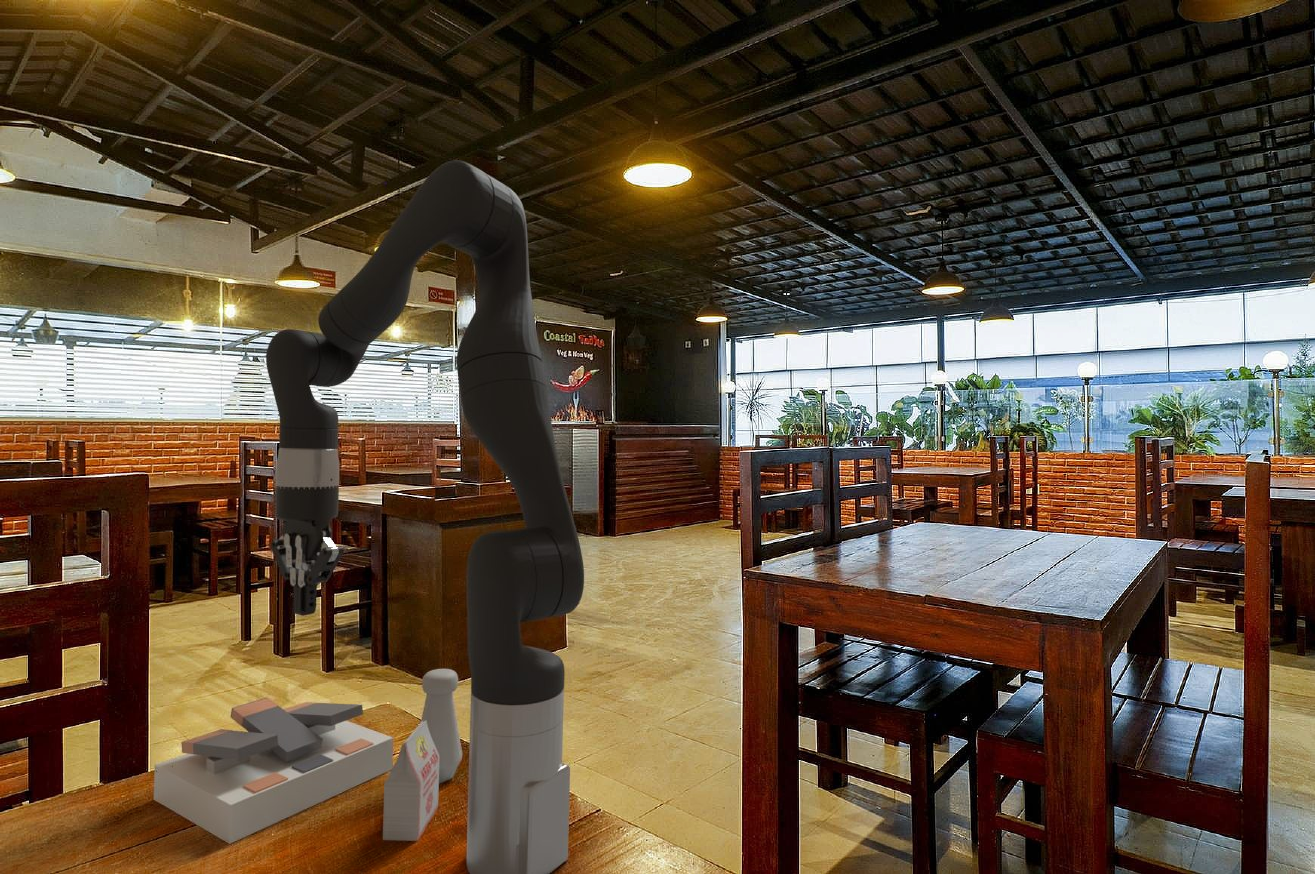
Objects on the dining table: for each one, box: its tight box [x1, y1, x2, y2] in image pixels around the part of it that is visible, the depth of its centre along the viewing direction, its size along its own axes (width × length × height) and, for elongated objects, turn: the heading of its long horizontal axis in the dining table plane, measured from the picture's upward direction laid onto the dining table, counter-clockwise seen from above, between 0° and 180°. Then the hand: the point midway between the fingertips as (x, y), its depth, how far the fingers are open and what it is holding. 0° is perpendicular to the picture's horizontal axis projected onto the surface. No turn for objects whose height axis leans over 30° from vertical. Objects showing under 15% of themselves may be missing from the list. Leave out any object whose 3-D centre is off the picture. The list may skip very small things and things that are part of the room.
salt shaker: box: [420, 668, 463, 784], centre depth 89 cm, size 6×6×13 cm
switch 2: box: [230, 697, 323, 762], centre depth 86 cm, size 12×4×1 cm, turn 59°
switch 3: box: [282, 701, 364, 726], centre depth 91 cm, size 12×4×1 cm, turn 59°
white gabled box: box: [382, 720, 440, 842], centre depth 78 cm, size 4×7×10 cm, turn 0°
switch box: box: [153, 720, 394, 845], centre depth 86 cm, size 16×20×5 cm
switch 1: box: [181, 728, 278, 760], centre depth 82 cm, size 12×4×1 cm, turn 59°
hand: (304, 613), depth 94 cm, fingers closed
